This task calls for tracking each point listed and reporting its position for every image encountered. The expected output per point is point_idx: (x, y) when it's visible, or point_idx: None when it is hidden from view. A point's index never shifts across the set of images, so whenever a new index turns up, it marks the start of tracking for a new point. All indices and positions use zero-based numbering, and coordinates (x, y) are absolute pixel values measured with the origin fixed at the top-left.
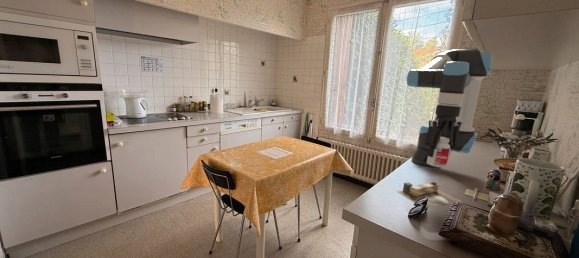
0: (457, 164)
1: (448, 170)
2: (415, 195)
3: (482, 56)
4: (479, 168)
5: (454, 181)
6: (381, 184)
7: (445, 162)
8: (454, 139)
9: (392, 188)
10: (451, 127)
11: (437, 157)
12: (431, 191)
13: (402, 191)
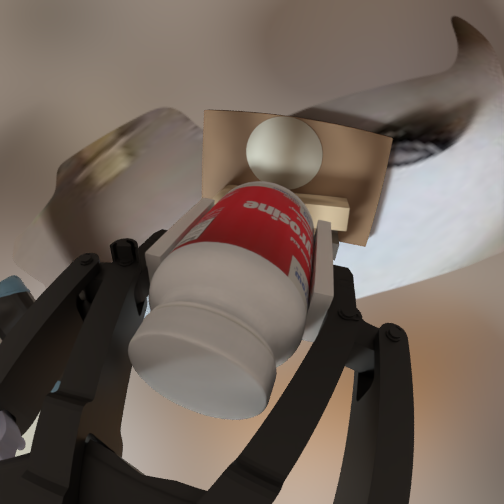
0: (42, 277)
1: None
2: (342, 198)
3: None
4: (20, 246)
5: (96, 226)
6: None
7: (256, 190)
8: (68, 306)
9: None
10: (63, 468)
11: (308, 240)
12: None
13: (347, 239)
